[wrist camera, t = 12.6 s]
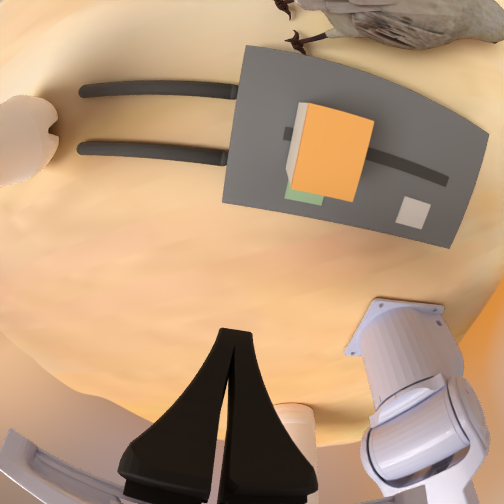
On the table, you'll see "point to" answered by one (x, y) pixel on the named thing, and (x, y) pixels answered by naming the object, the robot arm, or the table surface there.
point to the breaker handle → (327, 151)
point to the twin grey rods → (154, 149)
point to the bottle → (301, 434)
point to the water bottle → (25, 138)
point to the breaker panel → (377, 157)
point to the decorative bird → (405, 21)
